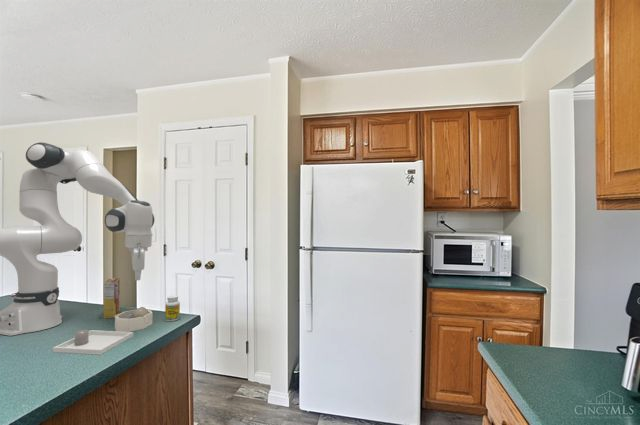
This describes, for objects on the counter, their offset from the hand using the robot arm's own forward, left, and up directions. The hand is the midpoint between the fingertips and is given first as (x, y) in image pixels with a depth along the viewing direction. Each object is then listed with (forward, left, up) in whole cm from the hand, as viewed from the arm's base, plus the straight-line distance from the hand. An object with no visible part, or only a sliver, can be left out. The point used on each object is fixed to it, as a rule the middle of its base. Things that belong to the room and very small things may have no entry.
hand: (137, 277), depth 113 cm
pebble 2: (0, 0, -16) cm, 16 cm away
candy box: (-20, +12, -20) cm, 30 cm away
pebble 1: (-7, -17, -19) cm, 26 cm away
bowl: (-1, 0, -19) cm, 19 cm away
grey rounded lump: (-3, 0, -19) cm, 19 cm away
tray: (-2, -16, -19) cm, 25 cm away
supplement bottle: (+9, +10, -20) cm, 24 cm away
